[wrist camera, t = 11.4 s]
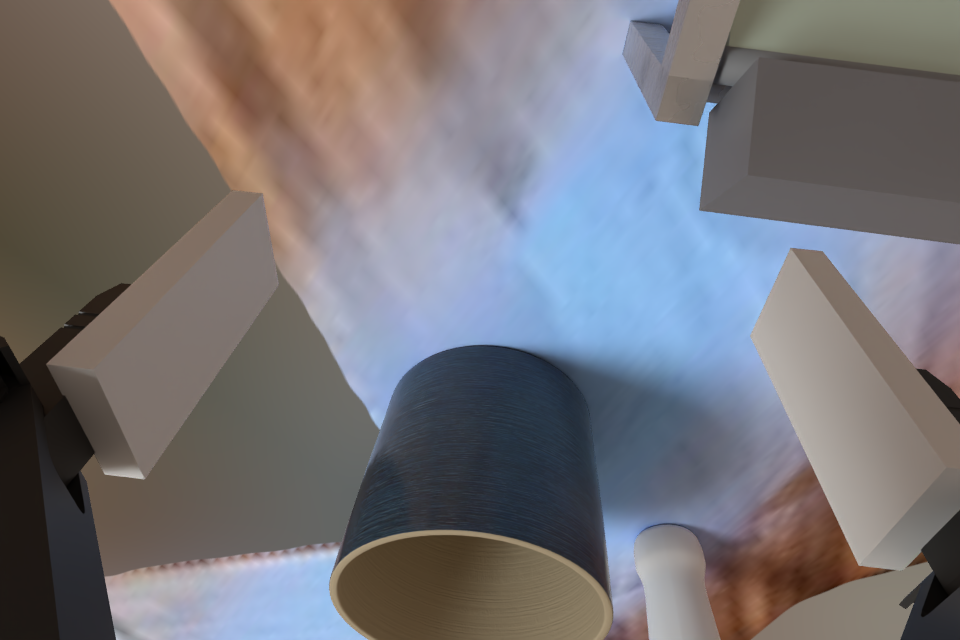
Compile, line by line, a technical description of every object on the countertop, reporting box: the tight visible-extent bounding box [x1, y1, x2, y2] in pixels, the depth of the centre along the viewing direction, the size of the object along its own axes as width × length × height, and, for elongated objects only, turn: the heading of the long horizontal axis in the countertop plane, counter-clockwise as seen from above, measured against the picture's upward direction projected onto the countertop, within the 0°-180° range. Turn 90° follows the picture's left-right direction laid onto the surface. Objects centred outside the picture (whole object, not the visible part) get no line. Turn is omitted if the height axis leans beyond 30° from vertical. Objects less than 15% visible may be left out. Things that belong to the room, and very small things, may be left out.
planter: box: [329, 346, 613, 640], centre depth 52 cm, size 22×22×20 cm
